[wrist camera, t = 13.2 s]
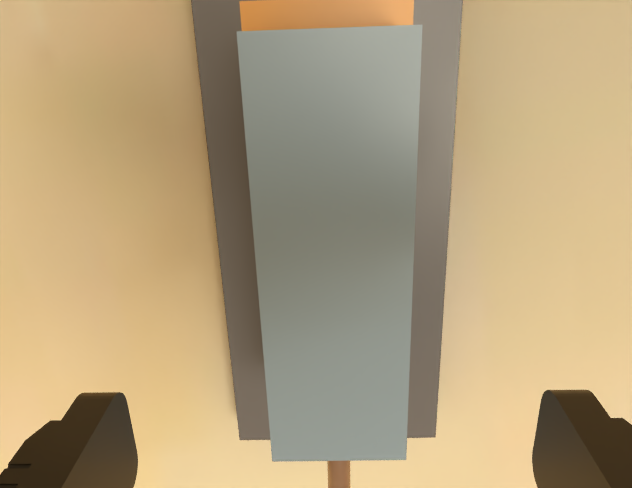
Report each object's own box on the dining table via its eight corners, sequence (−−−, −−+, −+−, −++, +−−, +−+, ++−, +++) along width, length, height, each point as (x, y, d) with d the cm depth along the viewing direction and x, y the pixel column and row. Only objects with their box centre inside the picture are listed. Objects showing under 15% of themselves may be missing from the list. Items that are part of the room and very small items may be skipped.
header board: (192, -96, 20) (146, -139, 15) (456, -107, 20) (502, -155, 15) (245, 413, 29) (227, 497, 24) (428, 411, 29) (450, 494, 24)
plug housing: (261, 30, 20) (236, 31, 14) (395, 25, 20) (422, 24, 14) (290, 463, 28) (281, 572, 22) (386, 462, 28) (402, 572, 22)
